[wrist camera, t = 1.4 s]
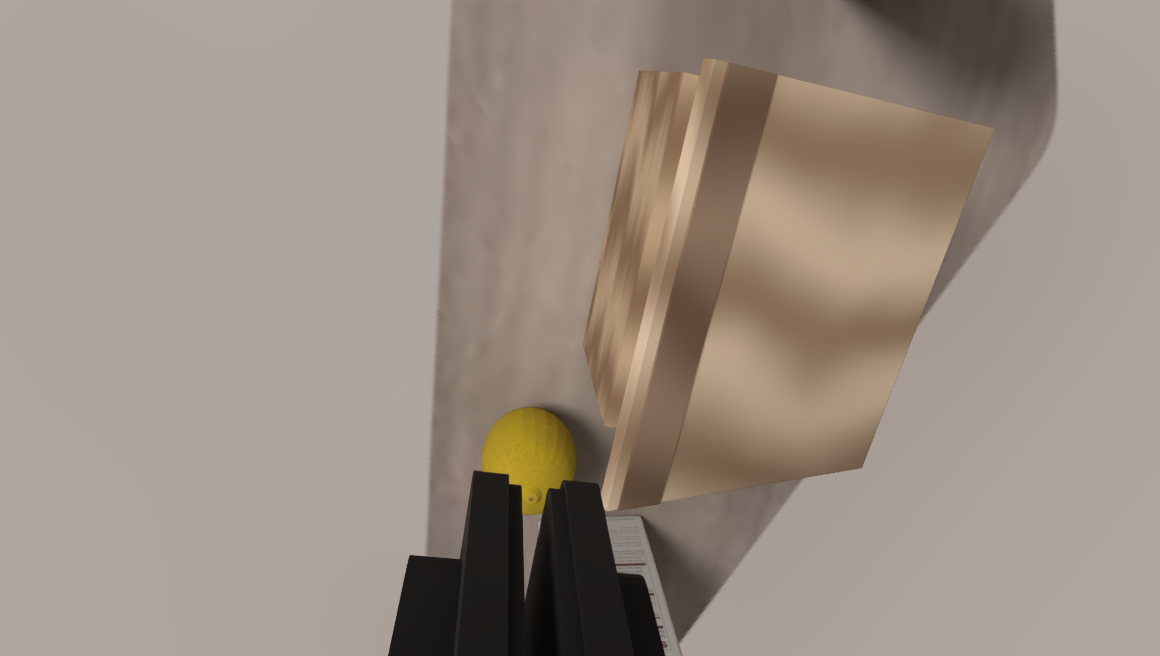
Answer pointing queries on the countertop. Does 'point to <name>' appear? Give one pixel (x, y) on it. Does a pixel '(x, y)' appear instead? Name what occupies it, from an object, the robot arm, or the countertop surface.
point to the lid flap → (784, 284)
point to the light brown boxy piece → (635, 230)
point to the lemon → (530, 454)
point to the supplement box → (641, 571)
